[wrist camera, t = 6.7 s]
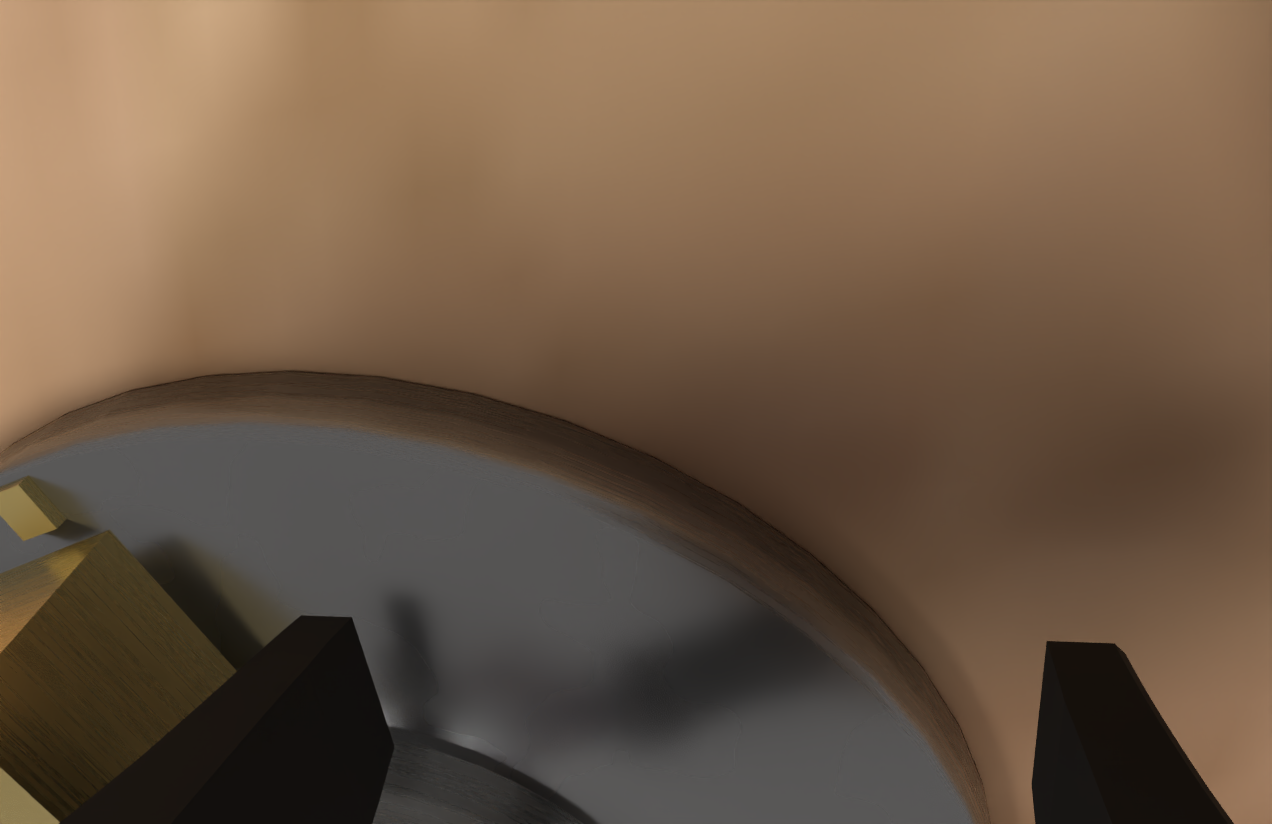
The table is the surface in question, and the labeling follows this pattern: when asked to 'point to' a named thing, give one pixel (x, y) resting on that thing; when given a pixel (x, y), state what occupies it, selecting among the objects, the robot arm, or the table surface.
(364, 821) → the robot arm
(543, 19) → the table surface
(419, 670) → the flange plate
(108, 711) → the ring nut
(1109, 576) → the table surface
